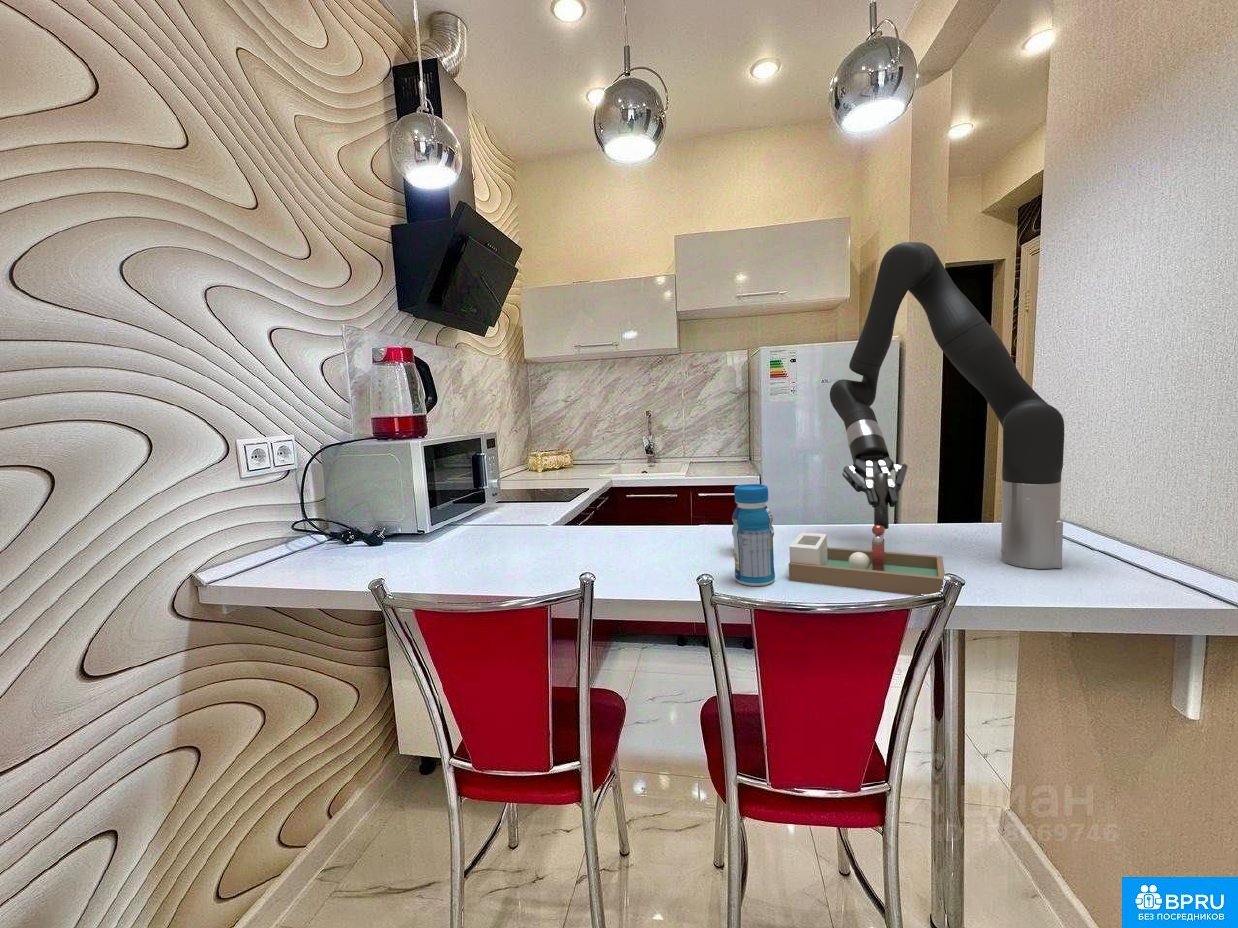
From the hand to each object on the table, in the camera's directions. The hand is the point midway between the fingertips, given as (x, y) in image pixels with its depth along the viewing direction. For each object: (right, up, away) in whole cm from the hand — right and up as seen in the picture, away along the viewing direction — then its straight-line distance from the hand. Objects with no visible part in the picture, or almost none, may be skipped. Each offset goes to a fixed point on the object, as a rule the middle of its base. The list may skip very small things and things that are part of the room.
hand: (884, 504), depth 104 cm
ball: (-7, -11, -4) cm, 14 cm away
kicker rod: (-1, -12, -1) cm, 12 cm away
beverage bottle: (-28, -16, -1) cm, 32 cm away
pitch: (-6, -14, -4) cm, 16 cm away
